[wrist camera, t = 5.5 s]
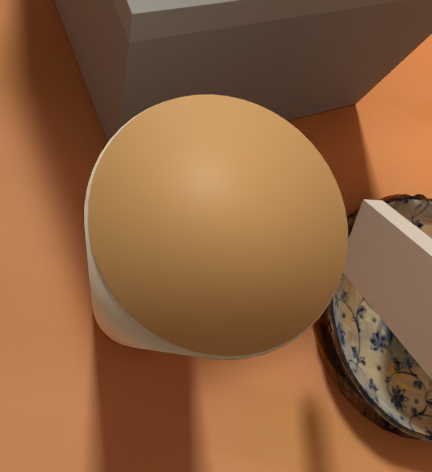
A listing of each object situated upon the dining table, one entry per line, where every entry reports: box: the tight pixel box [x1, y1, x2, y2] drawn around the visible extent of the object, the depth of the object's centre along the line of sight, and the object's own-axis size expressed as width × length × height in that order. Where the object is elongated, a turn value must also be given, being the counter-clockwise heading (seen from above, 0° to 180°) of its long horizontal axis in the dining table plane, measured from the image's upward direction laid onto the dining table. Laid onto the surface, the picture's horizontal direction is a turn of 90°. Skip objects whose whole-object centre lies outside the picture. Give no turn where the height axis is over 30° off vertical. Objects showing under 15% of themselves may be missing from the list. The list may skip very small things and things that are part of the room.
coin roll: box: [84, 94, 348, 360], centre depth 11 cm, size 4×4×12 cm
